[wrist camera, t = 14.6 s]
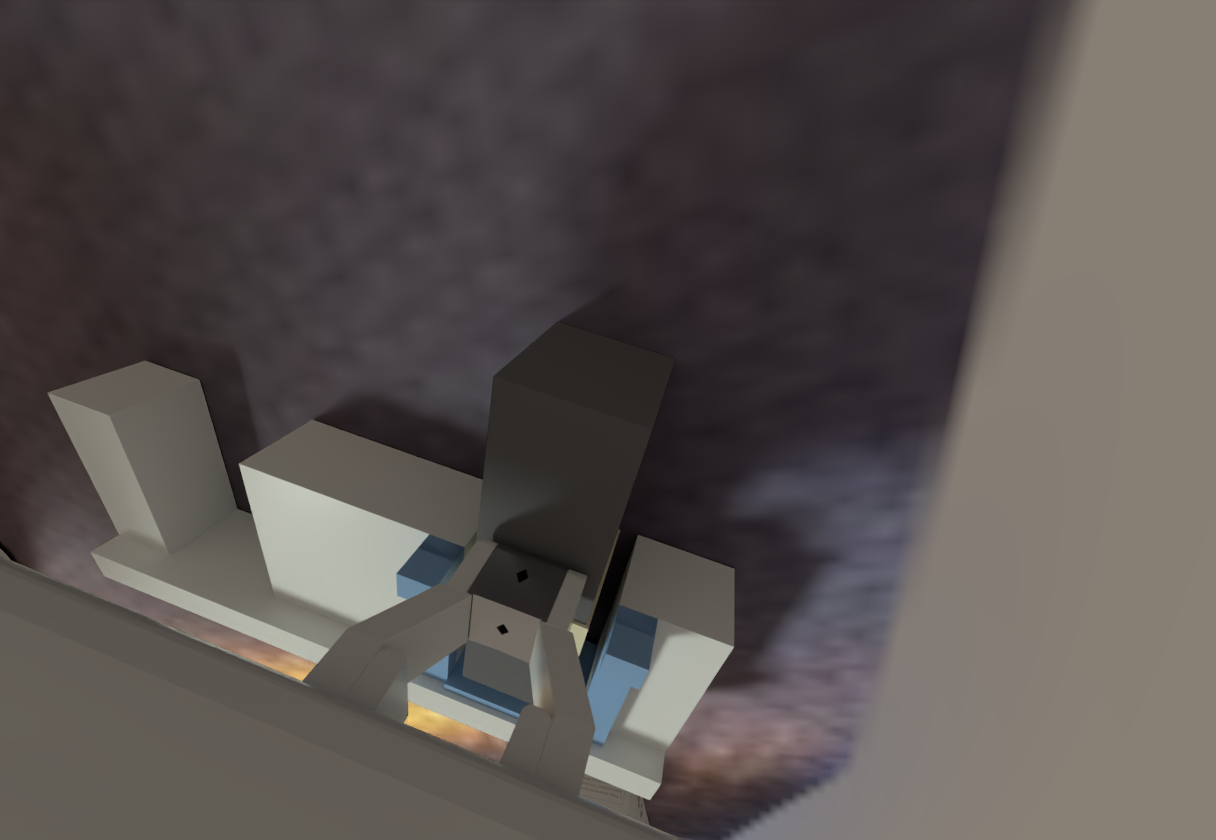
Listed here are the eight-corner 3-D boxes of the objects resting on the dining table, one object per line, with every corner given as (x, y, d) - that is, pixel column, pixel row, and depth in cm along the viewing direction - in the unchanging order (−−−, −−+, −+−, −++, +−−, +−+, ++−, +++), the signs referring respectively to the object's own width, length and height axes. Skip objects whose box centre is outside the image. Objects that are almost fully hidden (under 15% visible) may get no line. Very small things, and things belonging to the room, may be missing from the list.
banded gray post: (590, 616, 19) (557, 717, 15) (509, 585, 19) (458, 677, 16) (678, 359, 13) (656, 433, 9) (554, 320, 13) (486, 376, 9)
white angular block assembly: (664, 693, 20) (647, 820, 16) (200, 513, 22) (86, 587, 18) (734, 568, 16) (733, 702, 12) (145, 360, 18) (-20, 414, 14)
